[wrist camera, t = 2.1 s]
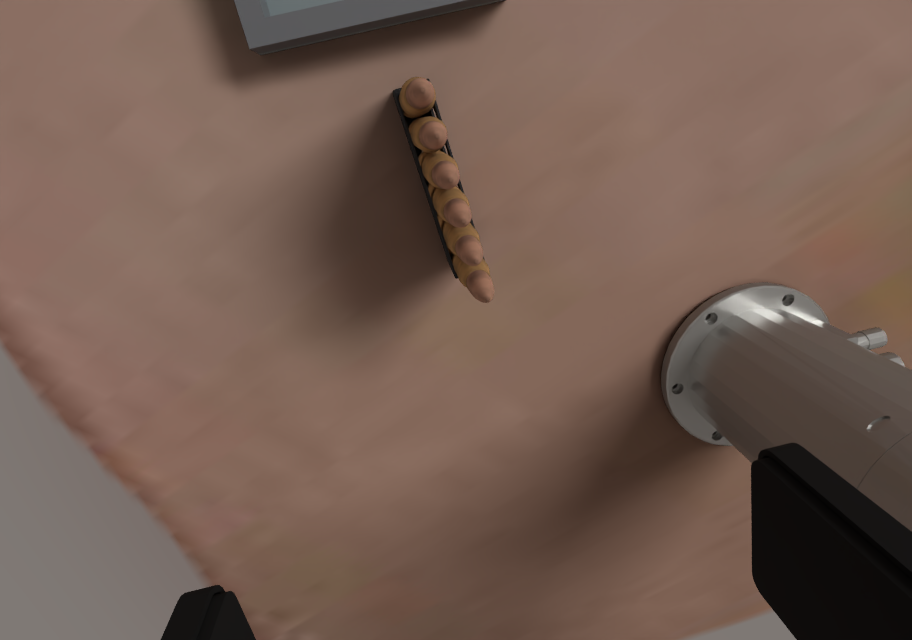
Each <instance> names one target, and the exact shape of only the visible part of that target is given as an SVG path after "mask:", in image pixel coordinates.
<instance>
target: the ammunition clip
mask: <svg viewBox="0 0 912 640" xmlns="http://www.w3.org/2000/svg"><path fill="white" fill-rule="evenodd" d="M435 95H436V94H435V90H434V87H433V86H432V84H431V83H430V80H429V79H425V78H421V77H414V78H411V79H409V80H407V81H406V82H405V84H404V85H403V86H402V88H399V89H396V90H393V96H394V99H395V103H396V106H397V109H398V112H399V115H400V118H401V121H402V124H403V127H404V130H405V133H406V136H407V139H408V142H409V145H410V148H411V151H412V154H413V157H414V160H415V163H416V166H417V169H418V172H419V175H420V178H421V181H422V184H423V187H424V190H425V193H426V196H427V199H428V202H429V205H430V208H431V211H432V214H433V217H434V220H435V224H436V227H437V230H438V233H439V236H440V239H441V242H442V245H443V248H444V251H445V254H446V257H447V260H448V262H449V265H450V267H451V269H452V272H453V274H454V276H455V278H459V280H460V282H461V283H462V284H463V285H464V286H465V287H467V289H468V290H469V291H470V293H471V294H472V295H473V296H474V297H475V298H476V299H477V300H479V301H481V302H484V303H487V302H490V301H491V300H492V299H493V296H494V286H493V282H492V280H491V277H490V275H489V274H490V271H489V268H488V265H487V264H486V262H485V260H484V257H483V249H482V246H481V244H480V238H479V235H478V232H477V231H476V230H475V228H474V224H473V221H472V218H471V216H472V214H471V210H470V207H469V202H468V199H467V197H466V196H465V195H464V192H463V188H462V185H461V182H460V174H459V171H458V166H457V163H456V162H455V160H454V159H453V155H452V152H451V149H450V146H449V142H448V139H447V130H446V127H445V125H444V124H443V122H442V119H441V116H440V113H439V110H438V106H437V103H436V100H435ZM432 108H433V109H434V111H435V113H436V116H437V118H436V117H435V116H434V112H433V109H432ZM444 145H446V148H447V152H448V155H447V154H446V151H445V148H444ZM457 184H458V187H459V188H458V187H457V186H456V185H457Z"/></svg>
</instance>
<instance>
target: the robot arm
mask: <svg viewBox="0 0 912 640" xmlns="http://www.w3.org/2000/svg"><path fill="white" fill-rule="evenodd" d="M886 343H887V335H886V334H885V332H884V331H883V330H882V329H881V328H877V327H874V328H870V329H866V330H862V331H858V332H857V333H854V334H849V333H847V332H845V331H843V330H840V329H838V328H836V327H834V326H832V325H830V323H829V320H828V318H827V316H826V315H825V313H824V312H823V310H822V309H821V307H820V306H819V305H818V304H817V303H816V302H815V301H813V300H812V299H811V298H810V297H809V296H807V295H805V294H803V293H801V292H799V291H797V290H795V289H792V288H790V287H787V286H784V285H781V284H774V283H768V282H762V283H748V284H744V285H740V286H736V287H732V288H730V289H728V290H726V291H723V292H721V293H719V294H717V295H715V296H713V297H712V298H710V299H709V300H707V301H706V302H704V303H703V304H701V305H700V306H699V307H698V308H697V309H696V310H695V311H693V312H692V313H691V314H690V315H689V316H688V317H687V318H686V320H685V321H684V322H683V323H682V325H681V326H680V327H679V328H678V330H677V331H676V333H675V335H674V337H673V338H672V340H671V342H670V344H669V346H668V349H667V351H666V354H665V357H664V360H663V366H662V372H661V388H662V393H663V397H664V401H665V404H666V406H667V408H668V409H669V411H670V413H671V415H672V416H673V417H674V418H675V420H676V421H677V422H678V423H679V424H680V425H681V426H682V427H683V428H684V429H685V430H686V431H687V432H689V433H690V434H691V435H693V436H695V437H696V438H698V439H700V440H702V441H705V442H708V443H711V444H715V445H724V446H734V447H735V448H736V449H737V450H738V451H739V452H740V453H742V454H743V455H744V456H745V457H746V458H747V459H748V460H749V461H750V462H751V463H752V465H751V504H752V575H753V579H754V582H755V584H756V587H757V588H758V590H759V592H760V593H761V595H762V596H763V598H764V599H765V600H766V601H767V603H768V604H769V605H770V606H771V608H772V609H773V610H774V611H775V613H776V614H777V615H778V616H779V618H780V619H781V620H782V621H783V623H784V624H785V625H786V627H787V628H788V629H789V630H790V632H791V633H792V634H793V635H794V637H795V638H796V639H797V640H912V370H911V369H909V368H906V367H904V363H903V361H902V360H901V358H900V357H899V356H898V355H896V354H895V353H892V352H886V353H882V354H877V353H875V352H872V351H870V350H871V349H875V348H879V347H883V346H885V345H886ZM161 640H256V639H255V637H254V634H253V632H252V630H251V628H250V626H249V624H248V621H247V619H246V617H245V615H244V613H243V611H242V608H241V606H240V604H239V602H238V600H237V598H236V596H235V594H234V593H233V592H232V591H228V592H225V591H224V589H223V588H222V587H221V586H220V585H215V586H211V587H207V588H203V589H199V590H195V591H191V592H187V593H184V594H183V595H182V596H181V597H180V599H179V600H178V602H177V604H176V606H175V609H174V611H173V613H172V615H171V618H170V620H169V622H168V625H167V627H166V629H165V631H164V634H163V636H162V638H161Z"/></svg>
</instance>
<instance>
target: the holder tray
mask: <svg viewBox="0 0 912 640" xmlns="http://www.w3.org/2000/svg"><path fill="white" fill-rule="evenodd" d="M500 1H504V0H234V2H235V5H236V8H237V11H238V14H239V17H240V21H241V24H242V27H243V30H244V33H245V36H246V40H247V43H248V46H249V49H250V50H252V51H254V52H256V53H258V54H260V55H264V54H268V53H273V52H277V51H282V50H286V49H291V48H295V47H300V46H304V45H308V44H313V43H317V42H322V41H326V40H331V39H335V38H340V37H344V36H348V35H353V34H357V33H362V32H366V31H371V30H375V29H380V28H384V27H388V26H393V25H397V24H402V23H406V22H411V21H415V20H420V19H424V18H428V17H433V16H437V15H442V14H446V13H451V12H455V11H460V10H464V9H468V8H473V7H477V6H482V5H486V4H491V3H495V2H500Z"/></svg>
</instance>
